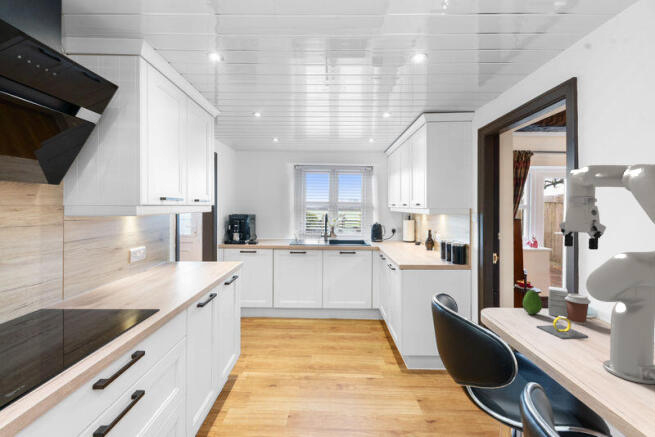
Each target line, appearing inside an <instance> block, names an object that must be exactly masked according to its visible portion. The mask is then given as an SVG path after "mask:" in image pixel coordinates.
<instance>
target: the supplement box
mask: <svg viewBox="0 0 655 437" xmlns="http://www.w3.org/2000/svg"><path fill="white" fill-rule="evenodd" d="M568 294H569V292H568V288H565V287H558V286H557V287H556V286H548V316H554V317H558V316H564V317H566V318H567V319H568V313H567V300H565V297H567V296H568Z"/></svg>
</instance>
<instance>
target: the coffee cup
mask: <svg viewBox="0 0 655 437" xmlns="http://www.w3.org/2000/svg"><path fill="white" fill-rule="evenodd" d="M588 297H589V296H587V295H584V294H580V293H568V296H567V297H565V300H567V319H568V320H569V321H570V323H571V324H572V323H573V324H576V325H577V324H578V325H587V319H588V312H589V304H591V302H592V301H591V300H590V299H589V298H588Z"/></svg>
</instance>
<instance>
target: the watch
mask: <svg viewBox="0 0 655 437" xmlns="http://www.w3.org/2000/svg"><path fill="white" fill-rule="evenodd" d="M559 320H562V321H563V320H566V322H567V326H566V327H567V328H566V329H565V330H559V329H557V328H556V325H557V322H558V321H559ZM552 325H553V326H554V328H555V329H556V330H558V331H564V332H567V331H568V330H570V329H572V322H570V321H569V320H568V317H567V318H566V317H564V316H556V318H554V320H553V321H552Z"/></svg>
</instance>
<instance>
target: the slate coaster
mask: <svg viewBox="0 0 655 437" xmlns="http://www.w3.org/2000/svg"><path fill="white" fill-rule="evenodd" d="M567 327H568V326H565V325H563V324H556V328H557V329H559V330H565V329H566V328H567ZM536 328H537V329H539V330H541V331H544V332H546V333H548V334H550V335H553V336H554V337H557V338H559V339H561V340H563V339H579V338H580V339H582V338H584V339H585V338H588V337H589V335H587V334H585V333H582V332H580V331H577V330H575V329H572V328H570V330H568V331H567V332H564V331H558V330H556V329H555V328H554V326H553V324H552V325H549V324H548V325H536Z"/></svg>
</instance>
